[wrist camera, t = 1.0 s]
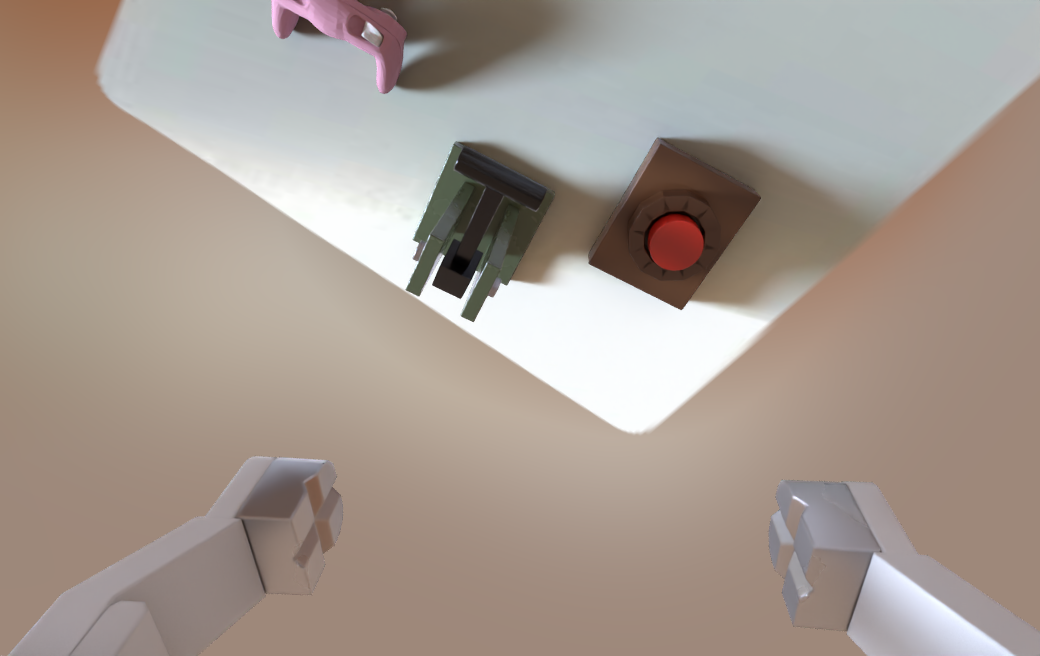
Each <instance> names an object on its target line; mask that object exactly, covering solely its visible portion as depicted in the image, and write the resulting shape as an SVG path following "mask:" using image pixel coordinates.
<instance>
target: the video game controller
mask: <svg viewBox="0 0 1040 656" xmlns="http://www.w3.org/2000/svg"><path fill="white" fill-rule="evenodd" d="M299 15H300V16H302V17H304V18H306V19H308V20H309V21H310V22H311V23H312V24H313V25H314V26H315V27H316V28H318V29H319V30H320V31H321V32H323V33H325V34H326V35H328V36H331V37H334V38H337V39H341V40H345V41H348V42H349V43H351V44H353V45H354V46H356V47H358V48H360V49H361V50H363V51H365V52H367V53H369V54H371V55H373V56H374V57H375V58H376V64H377V86H378V89H379V91H380V92H381V93H383V94H385V93H388V92H389V91H391V90H392V89H393V87H394V86H395V85H396V82H397V80H398V77H399V75H400V71H401V67H402V61H403V49H404V41H405V39H406V36H407V33H406V31H405V29H404V28H403V27H402V26H401V25H400V24H399V23H398V22H396V21H395V20H397V17H396V15H395V14H394V12H393V11H391V10H390V9H386V8H381V11H380V10H378V9H376V8H373V7H370V6H364V5H362V4H361V3H359V2H358V1H356V0H272V24H273V29H274V31H275V33H276V35H277V36H278V37H279V38H281V39H285V38H287V37H288V36H289V35H290V34H291V32H292V31H293V29H294V28H295V26H296V24H297V22H298V19H299Z"/></svg>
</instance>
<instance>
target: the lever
mask: <svg viewBox="0 0 1040 656" xmlns="http://www.w3.org/2000/svg"><path fill="white" fill-rule="evenodd" d="M454 171H456V172H458V173H460V174H462V175H464V176H466V177H468V178H470V179H472V180H474V181H476V182H478V183H480V184H482V185H484V186H485V187H486V188H485V190H484V192H483V194H482V196H481V199H480V201H479V203H478V205H477V207H476V210H475V212H474V214H473V216H472V218H471V221H470V223H469V225H468V227H467V229H466V231H465V234H464V236H463V238H462V240H461V242H460V241H458V240H456V239H453V241H452V243H451V245H450V247H449V249H448V251H447V253H446V255H445V257H444V259H443V261H442V263H441V265H440V267H439V270H438V272H437V274H436V277H435V279H434V281H433V284H432V285H433V286H435V287H437V288H439V289H441V290H443V291H445V292H447V293H449V294H451V295H453V296H456V297H458V298H460V299H461V298H462V296H463V294H464V293H465V291H466V289H467V287H468V285H469V283H470V281H471V279H472V277H473V275H474V273H475V271H476V268H477V266H478V264H479V262H480V260H481V258H482V255H483V252H481V251H479V250H477V248H478V246H479V244H480V242H481V240H482V238H483V236H484V234H485V232H486V230H487V229H488V227H489V225H490V223H491V221H492V219H493V217H494V215H495V213H496V211H497V209H498V207H499V205H500V203H501V201H502V199H503V197H504V196H505V197H507V198H509V199H511V200H513V201H515V202H517V203H519V204H521V205H523V206H525V207H527V208H529V209H531V210H533V211H537V210H538V209H539V207H540V205H541V203H542V201H543V199H544V197H545V195H546V192H547V187H545V186H543V185H541V184H539V183H537V182H535V181H533V180H531V179H529V178H528V177H526V176H524V175H522V174H520V173H518V172H516V171H514V170H512V169H510V168H508V167H506V166H504V165H502V164H500V163H498V162H496V161H494V160H493V159H491V158H489V157H487V156H485V155H483V154H481V153H479V152H477V151H475V150H473V149H471V148H469V147H467V146H464V147H463V149H462V150H461V152H460V154H459V156H458V159H457V161H456V163H455V166H454Z"/></svg>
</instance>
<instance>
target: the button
mask: <svg viewBox="0 0 1040 656" xmlns="http://www.w3.org/2000/svg"><path fill="white" fill-rule="evenodd" d="M648 246H649V251H650V254H651V257H652V259H653V260H654V262H655V263H656V264H657V265H659V266H660V267H662V268H664V269H667V270H673V271H676V270H682V269H685V268H688V267H690V266H691V265H693V264H694V263H695V262H696V261H697V260H698V259H699V257H700V256H701V254H702V251H703V247H704V240H703V236H702V234H701V232H700V229H699V227H698V225H697V224H696V222H695V221H694V220H692V219H691V218H690V217H688V216H686V215H682V214H670V215H666V216H664V217H662V218H660V219H659V220H658V221H656V222H655V223H654V224H653V226H652V227H651V229H650V231H649V234H648Z"/></svg>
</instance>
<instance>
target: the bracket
mask: <svg viewBox="0 0 1040 656" xmlns="http://www.w3.org/2000/svg"><path fill="white" fill-rule="evenodd" d="M463 147H464V145H462V144H460V143H458V142H455V143H454V144H453V146H452V148H451V150H450V153H449V155H448V157H447V160H446V162H445V164H444V167H443V169H442V171H441V174H440V176H439V178H438V181H437V183H436V185H435V188H434V190H433V192H432V195H431V197H430V200H429V202H428V204H427V207H426V209H425V211H424V214H423V216H422V218H421V221H420V223H419V225H418V228H417V230H416V232H415V235H414V237H413V240H414V241H416V242H418V243H419V245H418V247H417V249H416V251H415V253H414V256H413V260H416V261H418V263H417V265H416V267H415V269H414V272H413V274H412V276H411V278H410V281H409V283H408V285H407V288H406V290H407V291H409V292H411V293H413V294H415V295H417V296H420V294H421V292H422V291H423V289H424V287H425V285H426V283H427V282H428V280H429V278H430V276H431V274H432V273H433V271H434V269H435V267H436V265H437V264H438V262H439V260H440V258H441V256H442V255H446V253H447V251H448V249H449V247H450V245H451V243H452V241H453V239H456V240H458V241H460V242H461V240H462V238H463V236H464V234H465V231H466V229H467V227H468V225H469V223H470V221H471V218H472V216H473V214H474V212H475V210H476V207H477V205H478V203H479V201H480V199H481V196H482V194H483V192H484V190H485V188H486V187H485V186H484V185H482V184H480V183H478V182H476V181H474V180H472V179H470V178H468V177H466V176H464V175H462V174H460V173H458V172H456V171H454V166H455V163H456V161H457V159H458V156H459V154H460V152H461V150H462V149H463ZM554 195H555V192H554V191H552V190H550V189H548V188H547V192H546V195H545V197H544V199H543V201H542V203H541V205H540V207H539V209H538V210H537V211H533V210H531V209H529V208H527V207H525V206H523V205H521V204H519V203H517V202H515V201H513V200H511V199H509V198H507V197H505V196H504V197H503V199H502V201H501V203H500V205H499V207H498V209H497V211H496V213H495V215H494V217H493V219H492V221H491V223H490V225H489V227H488V229H487V230H486V232H485V234H484V236H483V238H482V240H481V242H480V244H479V246H478V248H477V250H479V251H481V252H483V255H482V258H481V260H480V262H479V264H478V266H477V268H476V271H478V272H477V275H476V277H475V280H474V282H473V285H472V287H471V290H470V292H469V295H468V298H467V300H466V303H465V305H464V308H463V310H462V313H461V317H464V318H466V319H468V320H470V321H472V322H474V321H475V319H476V317H477V315H478V313H479V311H480V309H481V307H482V305H483V303H484V301H485V299H486V297H487V295H488V296H490V297H494V295H495V294H496V292H497V290H498V288H499V285H500V283H502V284H504V285H508V283H509V281H510V279H511V277H512V275H513V273H514V272H515V270H516V268H517V266H518V264H519V262H520V260H521V258H522V257H523V255H524V253H525V251H526V249H527V247H528V245H529V243H530V242H531V240H532V238H533V236H534V234H535V232H536V230H537V228H538V226H539V225H540V223H541V221H542V219H543V217H544V215H545V213H546V211H547V210H548V208H549V206H550V204H551V202H552V200H553V198H554Z"/></svg>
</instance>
